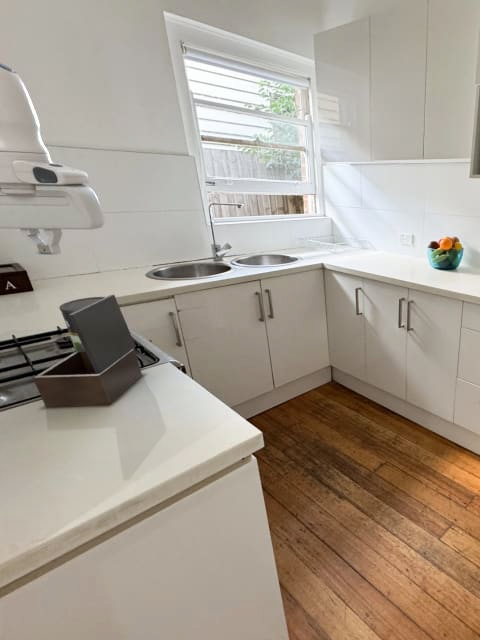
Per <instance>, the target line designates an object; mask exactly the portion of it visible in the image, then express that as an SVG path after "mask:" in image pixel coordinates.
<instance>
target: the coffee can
mask: <svg viewBox="0 0 480 640" xmlns="http://www.w3.org/2000/svg"><path fill="white" fill-rule="evenodd" d="M105 297H106V296H92V297H91V296H90V297H84V298H78V299H73V300H70V301H67V302H64V303H62V304H60V306H59V307H58V308H59V311H61V314H62V317H63V319H64V323H65V325H66V329H67V331H68V333H69V337H70V339H71V341H72V342H71V343H72V344H73V348H74V350H75V352H76V351H77V350H85V349H84V347H83V345H82V343H81V341H80V339H79V337H78V334H77V332H76V330H75V328H74V326H73V324H72V322H71V320H70V318H69V316H68V315H69V314H71V313H74V312H76V311H78V310H80V309H82V308H84V307H86V306H88V305H90V304H93V303H95V302H97V301H99V300H101V299H103V298H105Z"/></svg>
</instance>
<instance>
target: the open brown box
mask: <svg viewBox="0 0 480 640" xmlns="http://www.w3.org/2000/svg"><path fill="white" fill-rule="evenodd" d="M142 376H143V372H142V369H141V366H140V363H139V359H138V355H137V352H136V349H135V348H133V349H132V350H131V351H130V352H128V353H127V354H126V355H124V356H123V357H122V358H120V359H119V360H118V361H116V362H115V363H114V364H112V365H111V366H110V367H108V368H107V369H106V370H104V371H103V372H102V373H99V374H96V372H95V370H94V368H93V366H92V364H91V361H90V359H89V357H88V355H87V353H86V351H85V350H77V351H76V350H75V351H74V352H73V353H71V354H70V355H68V356H66V357H64V358H63V359H61V360H60V361H58V362H56V363H55V364H53V365H52V366H50V367H49V368H47V369H45V370H43V371H42V372H40V373H38V374H36V375H35V376H33V377H32V379H33V381H34V384H35V385H36V388H37V390H38V392H39V395H40V397H41V400H42V402H43V404H44V407H45V409H47V408H49V409H50V408H67V407H68V408H72V407H74V408H75V407H99V406H101V407H102V406H111V405H112V404H113V402H115V401H116V400H117V399H118V398H119V397H120V396H122V395H123V394H124V393H125V392H126V391H127V390H128V389H129V388H130V387H132V386H133V384H134V383H136V382H137V381H138V380H139V379H140V378H141V377H142Z"/></svg>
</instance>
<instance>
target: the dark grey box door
mask: <svg viewBox="0 0 480 640" xmlns="http://www.w3.org/2000/svg"><path fill="white" fill-rule="evenodd" d="M104 297H105V298H103V299H101V300H99V301H97V302H95V303H93V304H90V305H88V306H86V307H84V308H82V309H80V310H78V311H76V312H74V313H71V314H69V315H68V316H69V318H70V320H71V322H72V324H73V326H74V328H75V330H76V332H77V334H78V337H79V339H80V341H81V343H82V345H83V347H84V349H85V351H86V353H87V355H88V357H89V359H90V361H91V364H92V366H93V368H94V370H95V372H96V374H99V373H102V372H103V371H104V370H106V369H107V368H108V367H110V366H111V365H112V364H114V363H115V362H116V361H118V360H119V359H120V358H122V357H123V356H124V355H126V354H127V353H128V352H130V351H131V350H132V349H135V348H136V347H137V345H136V343H135V341H134V339H133V336H132V334H131V331H130V329H129V327H128V325H127V322H126V319H125V317H124V314H123V312H122V310H121V307H120V305H119V303H118V300H117V298H116V295H115V294H109V295H107V296H104Z"/></svg>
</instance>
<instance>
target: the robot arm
mask: <svg viewBox="0 0 480 640" xmlns="http://www.w3.org/2000/svg"><path fill="white" fill-rule="evenodd" d="M89 183H90V178H89V175H88V173H87V171H84V170H82V169H78V168H75V167H71V166H67V165H65V164H63V163H59V162H56V161H53V160H52V159H51V156H50V153H49V150H48V148H47V147H46V146H45V144H44V142H43V140H42V136H41V125H40V121H39V118H38V115H37V112H36V110H35V107H34V105H33V102H32V99H31V97H30V94H29V92H28V90H27V88H26V85H25V84H24V82H23V80H22V79H21V77H20V76H19V74H18V73H17V72H16V71H14V70H13V69H12V68H10V66H7V65H5V64H3V63H1V62H0V229H6V230H7V229H12V230H14V229H16V230H17V229H19V230H20V232H21V235H22V237H24V238H25V240H27V241H28V242H29V243H30V244H31V245H33V247H34V251H35V253H36V254H37V255H53V256H55V255H60V254H61V253H62V249H61V247H60V243H61V239H62V237H63V231H62V230H97V229H101V228H103V226H104V224H105V222H106V221H105V215H104V212H103V210H102V205H101V203H100V201H99V199H98V196H97V194H96V193H95V191H94V190H93V189H92V188H91V187H90V186H89V185H87V184H89ZM40 230H43V232H44V235H45V236H48V240H47V242H45V241H44V240H43V239H42V238H41V237H40V236H39V234H40Z"/></svg>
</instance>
